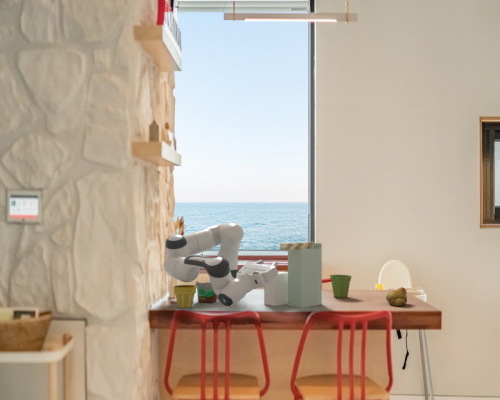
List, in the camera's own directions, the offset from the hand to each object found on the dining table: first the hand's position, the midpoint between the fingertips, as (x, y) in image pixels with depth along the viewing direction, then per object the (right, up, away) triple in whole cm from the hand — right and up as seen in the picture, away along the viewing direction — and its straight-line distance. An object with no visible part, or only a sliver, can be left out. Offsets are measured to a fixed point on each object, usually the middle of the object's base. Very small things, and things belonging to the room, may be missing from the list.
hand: (269, 261), depth 233 cm
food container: (-31, -23, +21) cm, 44 cm away
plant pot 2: (+39, -23, +38) cm, 59 cm away
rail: (+14, +5, +12) cm, 19 cm away
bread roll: (+62, -23, +15) cm, 68 cm away
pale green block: (+18, -23, +14) cm, 32 cm away
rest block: (+5, -23, +17) cm, 29 cm away
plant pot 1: (-40, -23, +9) cm, 46 cm away
